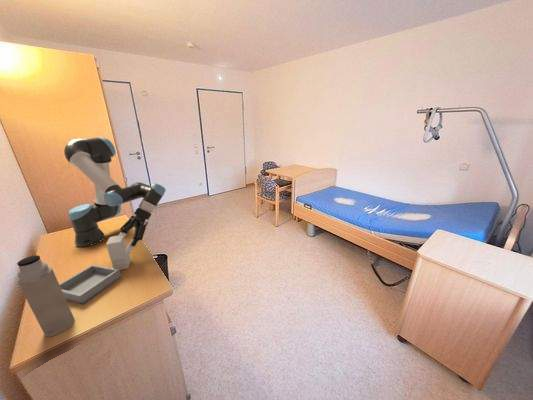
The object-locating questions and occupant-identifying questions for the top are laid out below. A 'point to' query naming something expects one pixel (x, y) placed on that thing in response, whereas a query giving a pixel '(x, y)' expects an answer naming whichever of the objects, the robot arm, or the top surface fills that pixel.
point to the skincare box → (118, 252)
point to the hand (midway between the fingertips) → (121, 248)
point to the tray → (89, 283)
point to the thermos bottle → (44, 295)
